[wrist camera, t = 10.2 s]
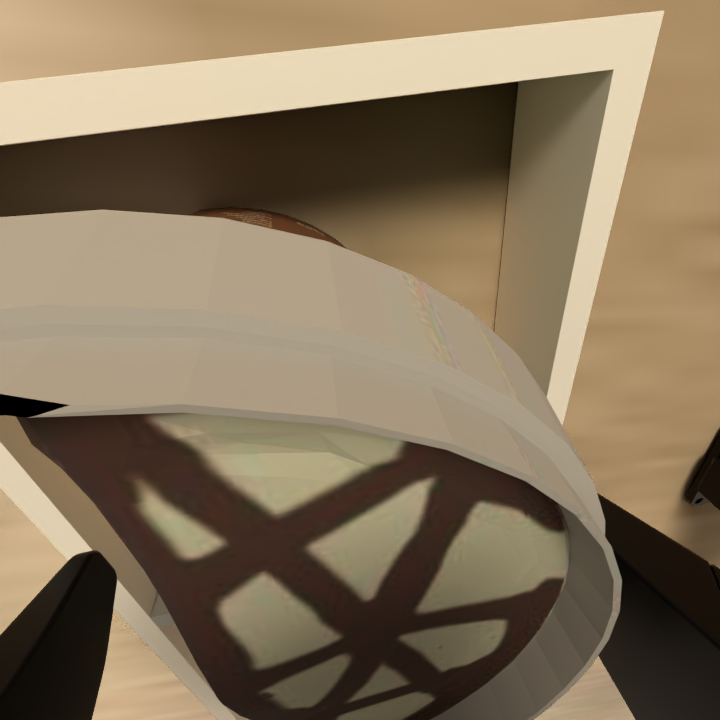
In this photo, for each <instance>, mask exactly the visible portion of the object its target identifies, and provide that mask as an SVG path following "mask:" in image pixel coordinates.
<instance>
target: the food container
mask: <svg viewBox="0 0 720 720" xmlns="http://www.w3.org/2000/svg"><path fill="white" fill-rule="evenodd" d="M1 415H7V416H16V418H17V419H18V421H19V423H20V425H21V426H22V428H23V430H24V432H25V434H26V435H27V437H28V439H29V441H30V442H31V444H32V445H33V446H34V447H36V448H37V449H38V450H39V451H40V452H42V453H43V454H44V455H45V456H47V457H48V458H49V459H50V460H52V461H53V462H54V463H55V464H56V465H58V466H59V467H60V468H61V469H62V470H63V471H64V472H65V473H66V474H67V475H68V476H69V477H70V478H71V479H72V480H73V481H74V482H75V484H76V485H77V486H78V487H79V488H80V489H81V490H82V491H83V492H84V493H85V494H86V495H87V496H88V497H89V498H90V499H91V500H92V501H93V503H94V504H95V505H96V507H97V508H98V509H99V511H100V512H101V513H102V515H103V516H104V517H105V519H106V520H107V521H108V523H109V524H110V525H111V527H112V528H113V530H114V531H115V532H116V534H117V535H118V536H119V538H120V539H121V540H122V542H123V543H124V544H125V546H126V547H127V548H128V550H129V551H130V552H131V554H132V555H133V556H134V558H135V559H136V560H137V562H138V563H139V564H140V566H141V567H142V568H143V570H144V571H145V573H146V574H147V576H148V578H149V579H150V581H151V583H152V584H153V586H154V587H155V589H156V591H157V592H158V594H159V596H160V597H161V599H162V600H163V602H164V604H165V606H166V608H167V610H168V611H169V613H170V615H171V617H172V619H173V621H174V623H175V624H176V626H177V628H178V630H179V632H180V634H181V636H182V638H183V639H184V641H185V643H186V645H187V647H188V649H189V651H190V652H191V654H192V656H193V658H194V660H195V662H196V664H197V666H198V667H199V669H200V670H201V672H202V674H203V675H204V677H205V679H206V680H207V682H208V683H209V685H210V687H211V688H212V690H213V691H214V693H215V695H216V697H217V698H218V700H219V701H220V702H221V703H222V704H223V705H224V706H226V707H227V708H229V709H231V710H232V711H234V712H235V713H237V714H238V715H239V716H242V717H244V718H247V719H249V720H533V719H535V718H536V717H538V716H539V715H540V714H542V713H543V712H544V711H545V710H546V709H548V708H549V707H550V706H551V705H552V704H553V703H555V702H556V701H557V700H558V699H559V698H560V697H562V696H563V695H564V694H565V693H566V692H567V691H569V690H570V688H571V687H572V686H573V685H574V684H575V683H576V682H577V681H578V680H579V679H580V678H581V677H582V676H583V674H584V673H585V672H586V671H587V670H588V669H589V668H590V667H591V666H592V664H593V663H594V661H595V660H596V658H597V657H598V655H599V654H600V652H601V651H602V649H603V648H604V646H605V645H606V643H607V642H608V640H609V638H610V635H611V633H612V630H613V627H614V625H615V622H616V620H617V617H618V615H619V612H620V602H621V587H622V578H621V575H620V572H619V569H618V565H617V562H616V559H615V556H614V552H613V549H612V546H611V545H610V543H609V542H608V540H607V539H606V537H605V518H604V515H603V511H602V508H601V505H600V501H599V498H598V494H597V491H596V488H595V484H594V482H593V480H592V478H591V477H590V475H589V473H588V471H587V469H586V468H585V466H584V464H583V462H582V460H581V459H580V457H579V455H578V453H577V451H576V450H575V448H574V446H573V444H572V442H571V441H570V439H569V437H568V435H567V433H566V432H565V430H564V428H563V426H562V424H561V423H560V421H559V419H558V417H557V415H556V414H555V412H554V410H553V408H552V406H551V405H550V403H549V401H548V399H547V397H546V396H545V394H544V393H543V391H542V390H541V388H540V387H539V385H538V384H537V382H536V381H535V379H534V378H533V376H532V375H531V373H530V372H529V370H528V369H527V367H526V366H525V364H524V363H523V361H522V360H521V358H520V357H519V355H518V354H517V353H516V352H515V351H514V350H513V349H511V348H510V347H509V346H508V345H507V344H506V343H505V342H504V341H503V340H502V339H501V338H500V337H499V336H498V335H497V334H495V333H494V332H493V331H492V330H491V329H490V328H489V327H488V326H487V325H486V324H485V323H484V322H483V321H482V320H481V319H479V318H478V317H477V316H476V315H475V314H474V313H473V312H471V311H469V310H468V309H466V308H464V307H463V306H461V305H460V304H458V303H456V302H455V301H453V300H451V299H450V298H448V297H447V296H445V295H443V294H442V293H440V292H439V291H437V290H435V289H434V288H432V287H430V286H429V285H427V284H426V283H424V282H422V281H421V280H419V279H418V278H416V277H414V276H413V275H411V274H409V273H406V272H403V271H401V270H398V269H396V268H393V267H391V266H388V265H386V264H383V263H381V262H378V261H376V260H373V259H371V258H368V257H366V256H363V255H361V254H358V253H356V252H353V251H351V250H348V249H347V248H346V247H344V246H343V245H342V244H341V243H339V242H338V241H337V240H336V239H335V238H333V237H331V236H330V235H328V234H326V233H325V232H323V231H321V230H319V229H318V228H316V227H314V226H313V225H310V224H308V223H305V222H303V221H300V220H297V219H295V218H292V217H290V216H287V215H283V214H278V213H274V212H270V211H265V210H261V209H248V208H234V207H229V208H218V209H206V210H199V211H197V212H195V213H193V214H191V215H189V216H188V215H173V214H159V213H145V212H131V211H116V210H90V211H76V212H63V213H50V214H37V215H23V216H10V217H0V416H1Z"/></svg>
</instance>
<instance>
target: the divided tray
mask: <svg viewBox="0 0 720 720" xmlns="http://www.w3.org/2000/svg"><path fill="white" fill-rule="evenodd" d="M663 14H664V11H655V12H646V13H637V14H628V15H619V16H609V17H600V18H591V19H582V20H572V21H563V22H554V23H545V24H535V25H526V26H517V27H508V28H498V29H489V30H480V31H471V32H462V33H452V34H443V35H434V36H425V37H415V38H406V39H397V40H388V41H378V42H369V43H360V44H351V45H342V46H332V47H323V48H314V49H305V50H295V51H286V52H277V53H268V54H258V55H249V56H240V57H231V58H222V59H212V60H203V61H194V62H185V63H175V64H166V65H157V66H148V67H138V68H129V69H120V70H111V71H101V72H92V73H83V74H74V75H65V76H55V77H46V78H37V79H28V80H18V81H9V82H0V146H5V145H13V144H21V143H29V142H38V141H46V140H54V139H62V138H70V137H78V136H86V135H94V134H102V133H110V132H118V131H126V130H134V129H143V128H151V127H159V126H167V125H175V124H183V123H191V122H199V121H207V120H215V119H223V118H231V117H239V116H248V115H256V114H264V113H272V112H280V111H288V110H296V109H304V108H312V107H320V106H328V105H336V104H344V103H353V102H361V101H369V100H377V99H385V98H393V97H401V96H409V95H417V94H425V93H433V92H441V91H449V90H458V89H466V88H474V87H482V86H490V85H498V84H506V83H514V82H518V93H517V103H516V113H515V123H514V134H513V144H512V154H511V164H510V174H509V185H508V195H507V205H506V215H505V226H504V236H503V246H502V256H501V266H500V277H499V287H498V297H497V307H496V318H495V328H494V333H495V334H497V335H498V336H499V337H500V338H501V339H502V340H503V341H504V342H505V343H506V344H507V345H508V346H509V347H510V348H511V349H513V350H514V351H515V352H516V353H517V354H518V355H519V357H520V358H521V360H522V361H523V363H524V364H525V366H526V367H527V369H528V370H529V372H530V373H531V375H532V376H533V378H534V379H535V381H536V382H537V384H538V385H539V387H540V388H541V390H542V391H543V393H544V394H545V396H546V397H547V399H548V401H549V403H550V405H551V406H552V408H553V410H554V412H555V414H556V415H557V417H558V419H559V421H560V423H561V424H562V426H563V421H564V417H565V413H566V409H567V405H568V401H569V397H570V393H571V389H572V385H573V381H574V377H575V373H576V368H577V364H578V360H579V356H580V352H581V348H582V344H583V340H584V336H585V332H586V328H587V324H588V320H589V316H590V311H591V307H592V303H593V299H594V295H595V291H596V287H597V283H598V279H599V275H600V271H601V267H602V263H603V259H604V254H605V250H606V246H607V242H608V238H609V234H610V230H611V226H612V222H613V218H614V214H615V210H616V206H617V201H618V197H619V193H620V189H621V185H622V181H623V177H624V173H625V169H626V165H627V161H628V157H629V153H630V149H631V144H632V140H633V136H634V132H635V128H636V124H637V120H638V116H639V112H640V108H641V104H642V100H643V96H644V91H645V87H646V83H647V79H648V75H649V71H650V67H651V63H652V59H653V55H654V51H655V47H656V43H657V39H658V34H659V30H660V26H661V22H662V18H663ZM0 488H1V489H2V490H3V491H4V492H5V493H6V495H7V496H8V497H9V498H10V499H11V500H12V501H13V502H14V503H15V504H16V505H17V506H18V507H19V508H20V510H21V511H22V512H23V513H24V514H25V515H26V516H27V517H28V518H29V519H30V520H31V521H32V522H33V523H34V524H35V526H36V527H37V528H38V529H39V530H40V531H41V532H42V533H43V534H44V535H45V536H46V537H47V538H48V539H49V540H50V542H51V543H52V544H53V545H54V546H55V547H56V548H57V549H58V550H59V551H60V552H61V553H62V554H63V555H64V557H65V558H66V559H67V560H68V561H69V560H70V559H71V558H72V557H73V556H74V555H76V554H79V553H83V552H88V551H92V550H97V551H99V552H101V553H102V555H103V556H104V557H105V558H106V559H107V561H108V562H109V563H110V564H111V565H112V567H113V568H114V569H115V571H116V574H117V586H116V593H115V600H114V607H113V609H114V610H115V611H116V612H117V613H118V614H119V615H120V616H121V617H122V619H123V620H124V621H125V622H126V623H127V624H128V625H129V626H130V627H131V628H132V629H133V630H134V631H135V632H136V633H137V635H138V636H139V637H140V638H141V639H142V640H143V641H144V642H145V643H146V644H147V645H148V646H149V647H150V648H151V650H152V651H153V652H154V653H155V654H156V655H157V656H158V657H159V658H160V659H161V660H162V661H163V662H164V663H165V664H166V666H167V667H168V668H169V669H170V670H171V671H172V672H173V673H174V674H175V675H176V676H177V677H178V678H179V679H180V681H181V682H182V683H183V684H184V685H185V686H186V687H187V688H188V689H189V690H190V691H191V692H192V693H193V694H194V695H195V697H196V698H197V699H198V700H199V701H200V702H201V703H202V704H203V705H204V706H205V707H206V708H207V709H208V710H209V712H210V713H211V714H212V715H213V716H214V717H215V718H216V719H217V720H249V719H247V718H244V717H242V716H239V715H238V714H237V713H235V712H234V711H232V710H231V709H229V708H227V707H226V706H224V705H223V704H222V703H221V702H220V701H219V700H218V698H217V697H216V695H215V693H214V691H213V690H212V688H211V687H210V685H209V683H208V682H207V680H206V679H205V677H204V675H203V674H202V672H201V670H200V669H199V667H198V666H197V664H196V662H195V660H194V658H193V656H192V654H191V652H190V651H189V649H188V647H187V645H186V643H185V641H184V639H183V638H182V636H181V634H180V632H179V630H178V628H177V626H176V624H175V623H174V621H173V619H172V617H171V615H170V613H169V611H168V610H167V608H166V606H165V604H164V602H163V600H162V599H161V597H160V596H159V594H158V592H157V591H156V589H155V587H154V586H153V584H152V583H151V581H150V579H149V578H148V576H147V574H146V573H145V571H144V570H143V568H142V567H141V566H140V564H139V563H138V562H137V560H136V559H135V558H134V556H133V555H132V554H131V552H130V551H129V550H128V548H127V547H126V546H125V544H124V543H123V542H122V540H121V539H120V538H119V536H118V535H117V534H116V532H115V531H114V530H113V528H112V527H111V525H110V524H109V523H108V521H107V520H106V519H105V517H104V516H103V515H102V513H101V512H100V511H99V509H98V508H97V507H96V505H95V504H94V503H93V501H92V500H91V499H90V498H89V497H88V496H87V495H86V494H85V493H84V492H83V491H82V490H81V489H80V488H79V487H78V486H77V485H76V484H75V482H74V481H73V480H72V479H71V478H70V477H69V476H68V475H67V474H66V473H65V472H64V471H63V470H62V469H61V468H60V467H59V466H58V465H56V464H55V463H54V462H53V461H52V460H50V459H49V458H48V457H47V456H45V455H44V454H43V453H42V452H40V451H39V450H38V449H37V448H36V447H34V446H33V445H32V444H31V442H30V441H29V439H28V437H27V435H26V434H25V432H24V430H23V428H22V426H21V425H20V423H19V421H18V419H17V418H16V416H7V415H1V416H0Z"/></svg>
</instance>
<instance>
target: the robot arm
mask: <svg viewBox="0 0 720 720" xmlns="http://www.w3.org/2000/svg"><path fill="white" fill-rule="evenodd" d="M597 494H598V493H597ZM598 498H599V501H600V505H601V508H602V511H603V515H604V518H605V537H606V539H607V540H608V542H609V543H610V545H611V546H612V549H613V552H614V556H615V559H616V562H617V565H618V569H619V572H620V575H621V578H622V587H621V602H620V612H619V615H618V617H617V620H616V622H615V625H614V627H613V630H612V633H611V635H610V638H609V640H608V642H607V643H606V645H605V646H604V648H603V649H602V651H601V652H600V654H599V655H598V656H599V657H600V659H601V661H602V663H603V664H604V666H605V668H606V669H607V671H608V673H609V675H610V676H611V678H612V680H613V681H614V683H615V685H616V687H617V688H618V690H619V692H620V694H621V695H622V697H623V699H624V700H625V702H626V704H627V706H628V707H629V709H630V711H631V712H632V714H633V716H634V718H635V719H636V720H720V569H719V568H718V567H716V566H715V565H712V564H711V565H709V563H708V561H706V560H705V559H703V558H701V557H700V556H698V555H697V554H695V553H693V552H692V551H690V550H689V549H687V548H685V547H684V546H682V545H680V544H679V543H677V542H676V541H674V540H672V539H671V538H669V537H667V536H666V535H664V534H663V533H661V532H659V531H658V530H656V529H655V528H653V527H651V526H650V525H648V524H646V523H645V522H643V521H642V520H640V519H638V518H637V517H635V516H634V515H632V514H630V513H629V512H627V511H625V510H624V509H622V508H621V507H619V506H617V505H616V504H614V503H613V502H611V501H609V500H608V499H606V498H604V497H603V496H601V495H600V494H598ZM685 500H686V501H687V502H688V503H689V504H690V505H691V506H698V505H702V504H706V503H710V502H711V503H712V504H713V505H714V506H716V507H717V508H718V509H719V510H720V436H719V438H718V440H717V442H716V444H715V445H714V447H713V449H712V451H711V453H710V454H709V456H708V458H707V460H706V462H705V463H704V465H703V467H702V469H701V471H700V472H699V474H698V476H697V478H696V480H695V481H694V483H693V485H692V487H691V489H690V490H689V492H688V494H687V496H686V498H685ZM116 586H117V574H116V571H115V569H114V568H113V567H112V565H111V564H110V563H109V562H108V561H107V559H106V558H105V557H104V556H103V555H102V553H101V552H99V551H97V550H92V551H88V552H83V553H79V554H76V555H74V556H73V557H72V558H71V559H70V560H69V561H68V562H67V563H66V564H65V565H64V566H63V567H62V568H61V569H60V570H59V571H58V573H57V574H56V575H55V576H54V577H53V578H52V579H51V580H50V581H49V582H48V584H47V585H46V586H45V587H44V588H43V589H42V590H41V591H40V592H39V593H38V594H37V596H36V597H35V598H34V599H33V600H32V601H31V602H30V603H29V604H28V605H27V607H26V608H25V609H24V610H23V611H22V612H21V613H20V614H19V615H18V616H17V618H16V619H15V620H14V621H13V622H12V623H11V624H10V625H9V626H8V627H7V628H6V630H5V631H4V632H3V633H2V634H1V635H0V720H92V716H93V712H94V708H95V704H96V699H97V695H98V691H99V687H100V683H101V679H102V675H103V670H104V666H105V661H106V655H107V649H108V642H109V635H110V628H111V621H112V614H113V607H114V600H115V593H116Z"/></svg>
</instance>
